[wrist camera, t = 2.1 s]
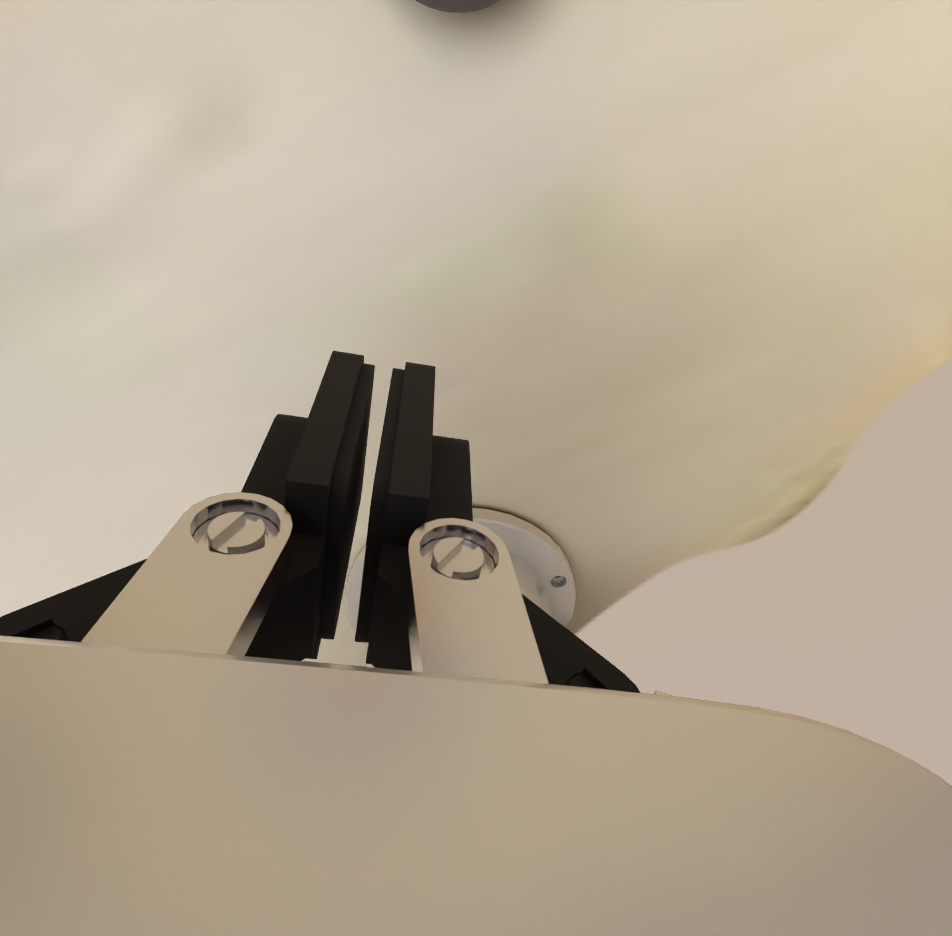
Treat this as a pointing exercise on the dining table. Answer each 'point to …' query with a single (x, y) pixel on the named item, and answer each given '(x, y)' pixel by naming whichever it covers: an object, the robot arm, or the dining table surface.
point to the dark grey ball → (457, 4)
